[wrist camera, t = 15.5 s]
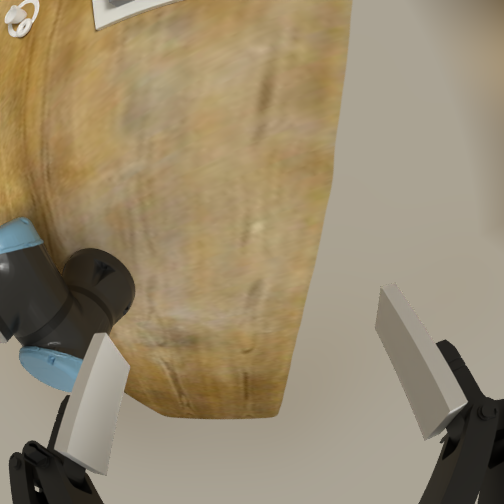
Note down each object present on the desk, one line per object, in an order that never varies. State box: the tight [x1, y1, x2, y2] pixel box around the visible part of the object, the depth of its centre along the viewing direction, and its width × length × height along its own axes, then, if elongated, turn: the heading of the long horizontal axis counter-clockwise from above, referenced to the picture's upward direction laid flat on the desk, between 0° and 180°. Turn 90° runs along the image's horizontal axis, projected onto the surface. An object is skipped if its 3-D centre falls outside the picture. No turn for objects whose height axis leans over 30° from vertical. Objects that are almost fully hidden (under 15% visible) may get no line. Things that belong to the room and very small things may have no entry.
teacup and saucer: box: [5, 0, 39, 37], centre depth 20 cm, size 9×8×4 cm
